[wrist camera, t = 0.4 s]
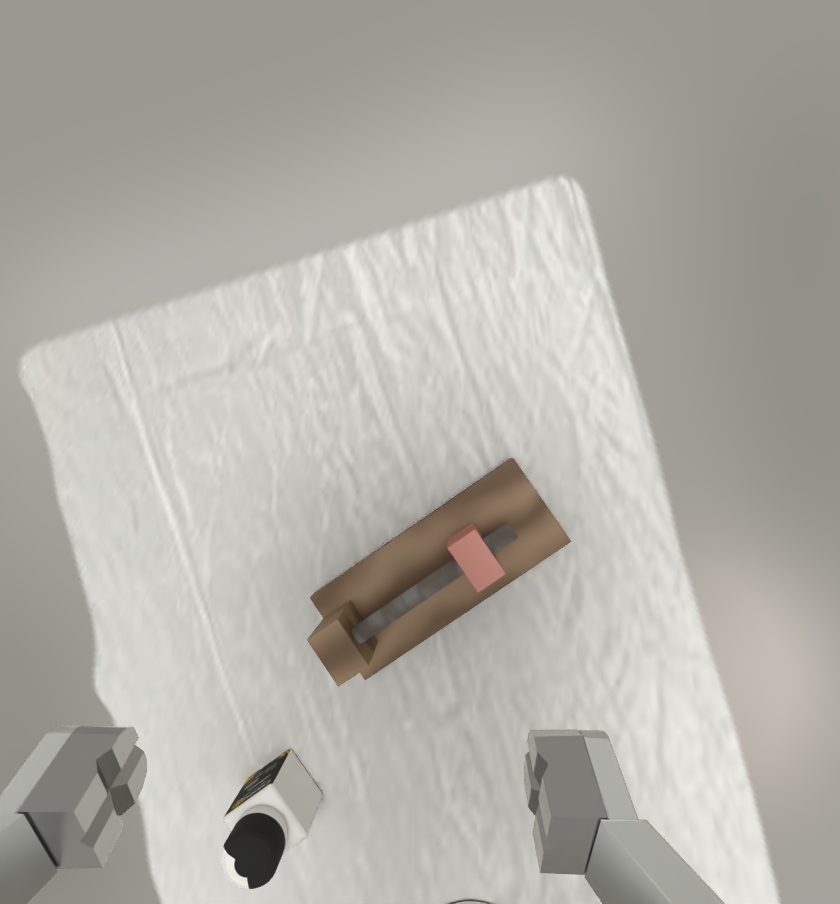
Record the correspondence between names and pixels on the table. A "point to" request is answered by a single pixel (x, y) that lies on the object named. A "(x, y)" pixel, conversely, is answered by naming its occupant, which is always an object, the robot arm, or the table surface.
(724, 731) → the table surface
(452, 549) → the square nut
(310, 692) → the table surface
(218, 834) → the table surface
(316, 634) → the rod stand
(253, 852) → the medicine bottle
